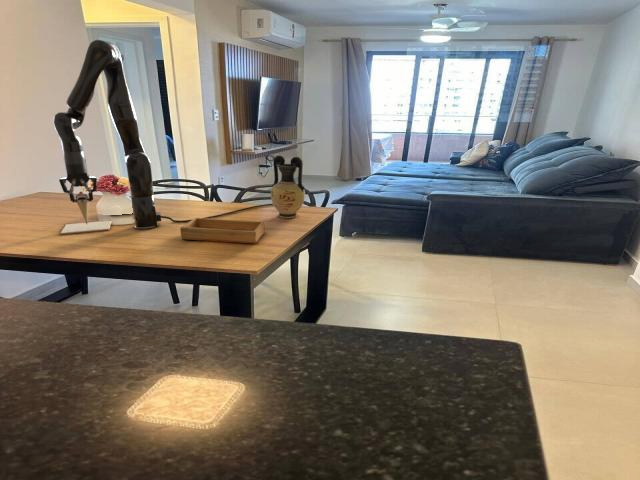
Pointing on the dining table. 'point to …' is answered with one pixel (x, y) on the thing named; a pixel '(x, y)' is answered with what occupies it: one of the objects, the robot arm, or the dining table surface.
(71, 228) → the white flat slab
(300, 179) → the amphora
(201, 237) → the tray
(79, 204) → the ice cream cone
